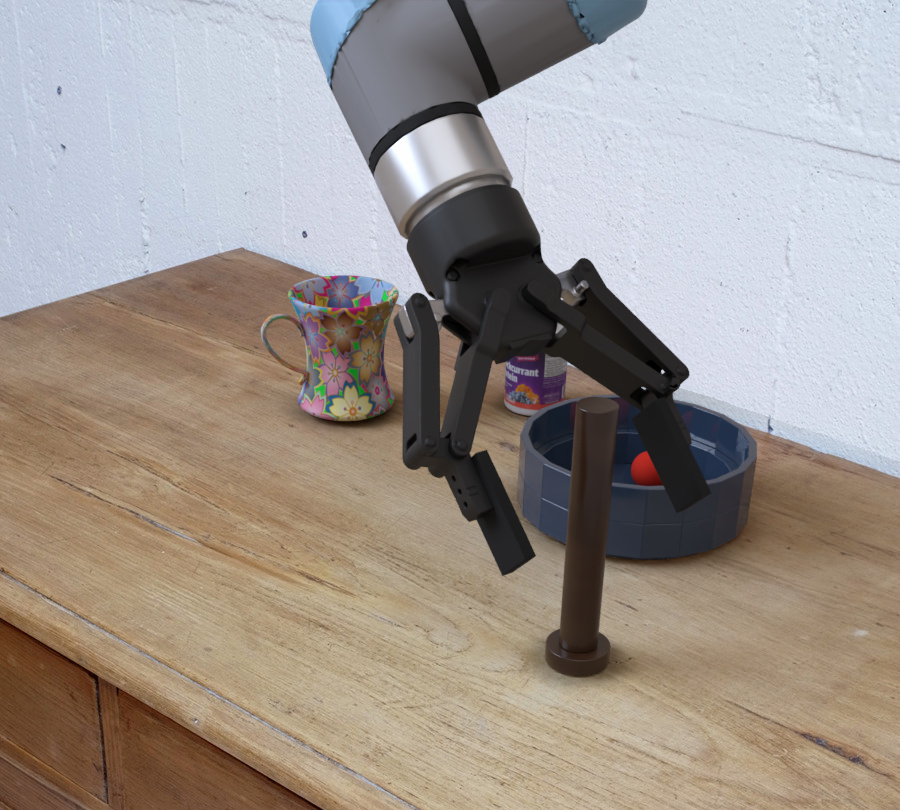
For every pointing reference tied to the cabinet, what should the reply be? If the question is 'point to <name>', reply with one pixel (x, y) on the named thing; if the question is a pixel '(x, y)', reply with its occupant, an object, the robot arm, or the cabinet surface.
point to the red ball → (645, 471)
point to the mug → (341, 345)
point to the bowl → (634, 506)
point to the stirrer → (586, 542)
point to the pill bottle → (534, 382)
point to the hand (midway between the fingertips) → (610, 534)
